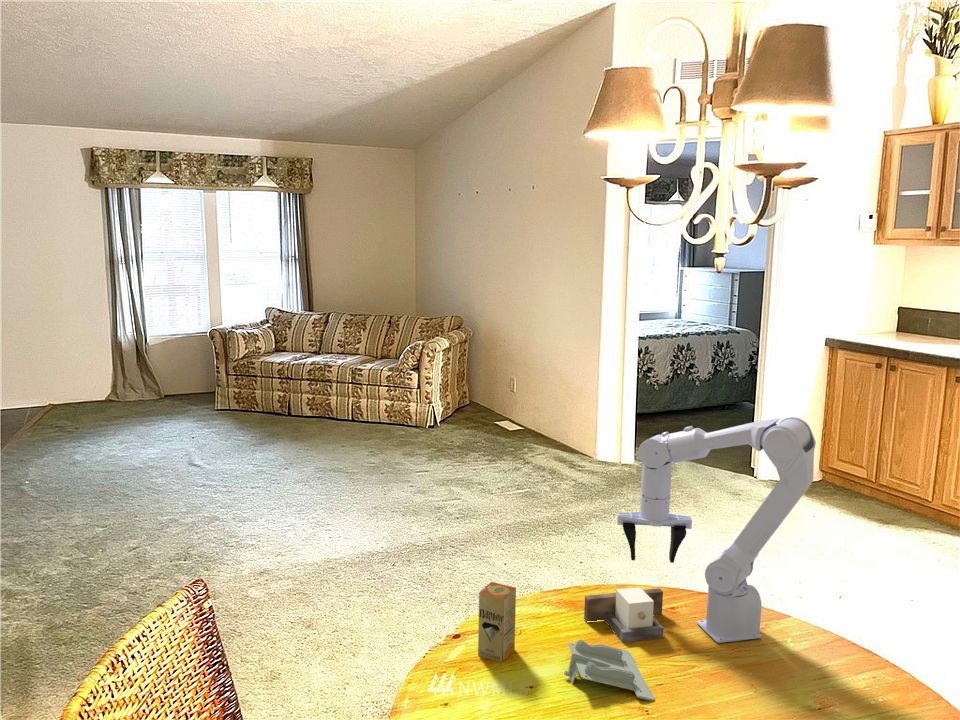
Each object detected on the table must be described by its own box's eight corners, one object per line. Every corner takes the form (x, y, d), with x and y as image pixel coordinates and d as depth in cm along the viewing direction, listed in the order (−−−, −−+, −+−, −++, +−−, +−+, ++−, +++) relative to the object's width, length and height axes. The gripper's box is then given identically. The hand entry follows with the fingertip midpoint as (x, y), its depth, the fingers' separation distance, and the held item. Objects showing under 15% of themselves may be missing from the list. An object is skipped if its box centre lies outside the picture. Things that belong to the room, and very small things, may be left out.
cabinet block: (638, 620, 152) (640, 587, 151) (653, 637, 146) (655, 603, 145) (614, 623, 151) (616, 589, 150) (629, 640, 145) (631, 605, 143)
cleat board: (658, 611, 156) (659, 588, 155) (681, 635, 146) (683, 610, 146) (584, 619, 152) (584, 595, 151) (603, 644, 143) (604, 619, 142)
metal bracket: (583, 673, 124) (564, 626, 138) (572, 705, 124) (554, 655, 139) (665, 692, 126) (638, 644, 140) (653, 724, 126) (627, 673, 141)
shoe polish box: (490, 642, 143) (491, 581, 141) (514, 649, 141) (515, 587, 139) (478, 655, 139) (479, 592, 137) (502, 662, 136) (504, 598, 135)
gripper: (619, 499, 151) (616, 565, 153) (695, 503, 149) (691, 570, 151) (617, 488, 158) (615, 551, 160) (690, 492, 156) (686, 555, 158)
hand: (652, 559), depth 156 cm, fingers open, 7 cm apart
